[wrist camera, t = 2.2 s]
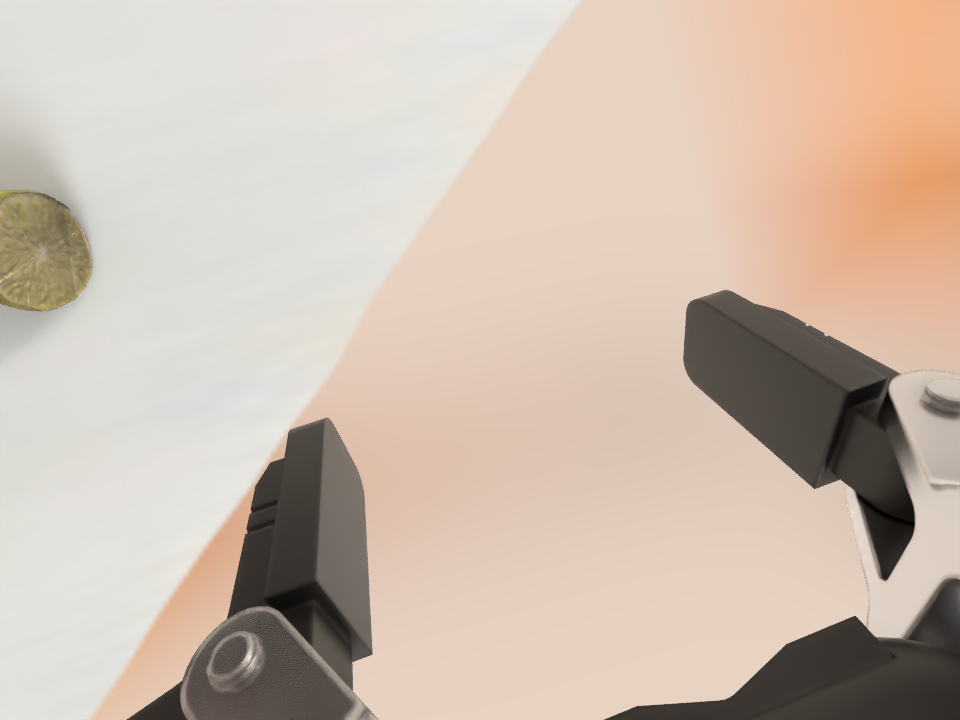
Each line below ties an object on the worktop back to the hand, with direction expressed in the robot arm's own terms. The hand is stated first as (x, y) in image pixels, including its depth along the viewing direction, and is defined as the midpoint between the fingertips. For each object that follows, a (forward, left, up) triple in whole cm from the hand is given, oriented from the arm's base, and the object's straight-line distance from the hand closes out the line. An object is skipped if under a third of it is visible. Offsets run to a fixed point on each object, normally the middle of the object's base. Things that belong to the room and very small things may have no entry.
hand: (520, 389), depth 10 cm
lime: (-10, -13, -19) cm, 25 cm away
